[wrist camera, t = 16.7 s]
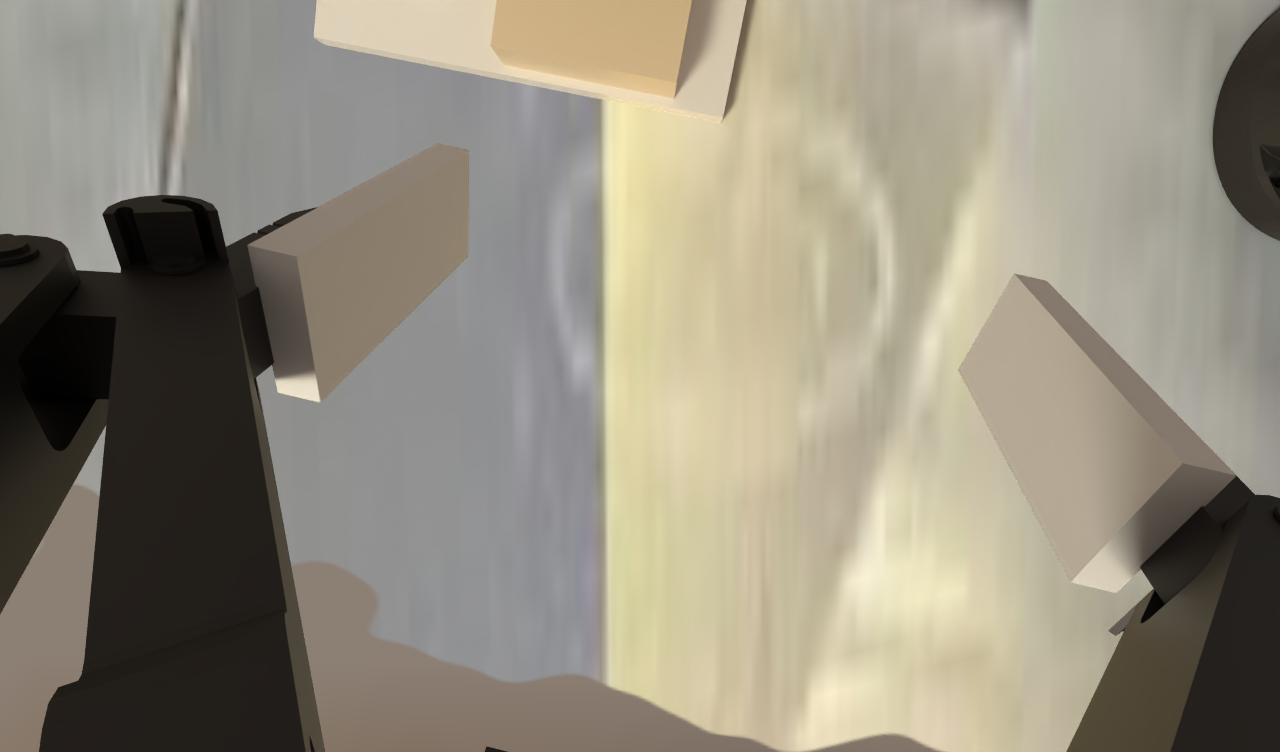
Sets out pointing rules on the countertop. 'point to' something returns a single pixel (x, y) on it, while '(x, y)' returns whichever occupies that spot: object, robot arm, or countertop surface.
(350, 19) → the build plate
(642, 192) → the countertop surface
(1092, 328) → the robot arm
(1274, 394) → the countertop surface
